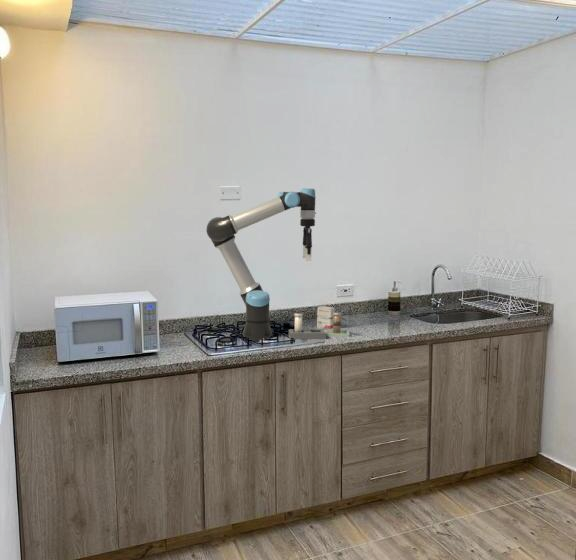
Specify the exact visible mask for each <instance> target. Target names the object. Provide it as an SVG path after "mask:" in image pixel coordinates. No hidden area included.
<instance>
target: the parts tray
mask: <svg viewBox="0 0 576 560" xmlns="http://www.w3.org/2000/svg"><path fill="white" fill-rule="evenodd" d="M324 331H325V332H326V338H329V337H331V338H332V337H333V338H335V337H336V338H337V337H338V338H339V337H340V338H341V337H343V338H345V337H346V338H348V337H349V338H350V336H351V333H350V332H349V331H348V329H341V333H333V329H324Z"/></svg>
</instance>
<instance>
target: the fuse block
mask: <svg viewBox="0 0 576 560" xmlns="http://www.w3.org/2000/svg"><path fill="white" fill-rule="evenodd" d="M324 330H325V328H310V329H309V328H302V332H295V328H294V329H293V328H290V329H288V337H289V340H292V339H291V338H294V339H293V340H326V339H327V337H326V332H325V331H324Z"/></svg>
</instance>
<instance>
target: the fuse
mask: <svg viewBox="0 0 576 560" xmlns="http://www.w3.org/2000/svg"><path fill="white" fill-rule="evenodd" d="M303 316H304V313H302V312H294V329H295V332H302V329H303Z"/></svg>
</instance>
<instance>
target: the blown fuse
mask: <svg viewBox="0 0 576 560" xmlns="http://www.w3.org/2000/svg"><path fill="white" fill-rule="evenodd" d="M333 315H334V318H333V328H332V330H333V333H341V330H342V329H341V327H342V326H341V325H342V321H341V320H342V312H341V311H335V312H333Z"/></svg>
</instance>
